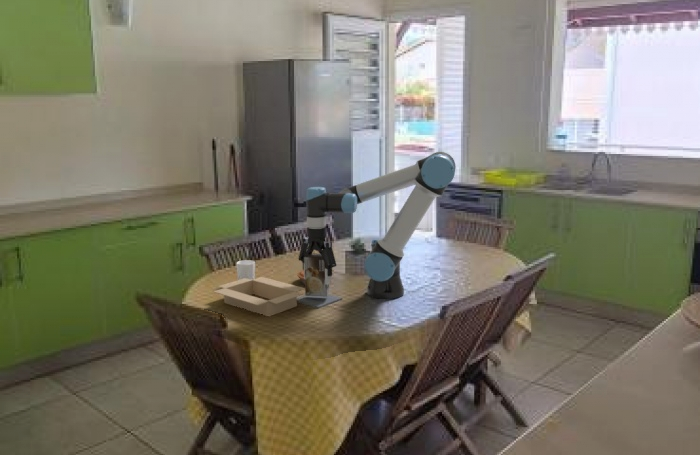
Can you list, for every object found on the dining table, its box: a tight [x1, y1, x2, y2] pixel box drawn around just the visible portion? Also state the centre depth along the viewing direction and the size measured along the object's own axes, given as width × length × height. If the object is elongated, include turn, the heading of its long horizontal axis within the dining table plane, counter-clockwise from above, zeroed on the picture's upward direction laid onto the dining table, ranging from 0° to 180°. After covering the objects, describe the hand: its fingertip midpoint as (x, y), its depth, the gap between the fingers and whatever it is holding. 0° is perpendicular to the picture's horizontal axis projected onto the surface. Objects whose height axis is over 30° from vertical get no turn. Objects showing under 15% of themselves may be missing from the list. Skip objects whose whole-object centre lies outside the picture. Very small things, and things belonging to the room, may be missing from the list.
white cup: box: [236, 259, 256, 280], centre depth 273 cm, size 8×8×10 cm
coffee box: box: [304, 252, 331, 297], centre depth 251 cm, size 9×6×16 cm
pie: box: [296, 269, 333, 285], centre depth 277 cm, size 15×16×5 cm
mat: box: [297, 294, 343, 309], centre depth 253 cm, size 14×14×1 cm
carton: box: [213, 276, 305, 317], centre depth 247 cm, size 33×25×6 cm
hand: (317, 281), depth 251 cm, fingers closed on coffee box, 11 cm apart
